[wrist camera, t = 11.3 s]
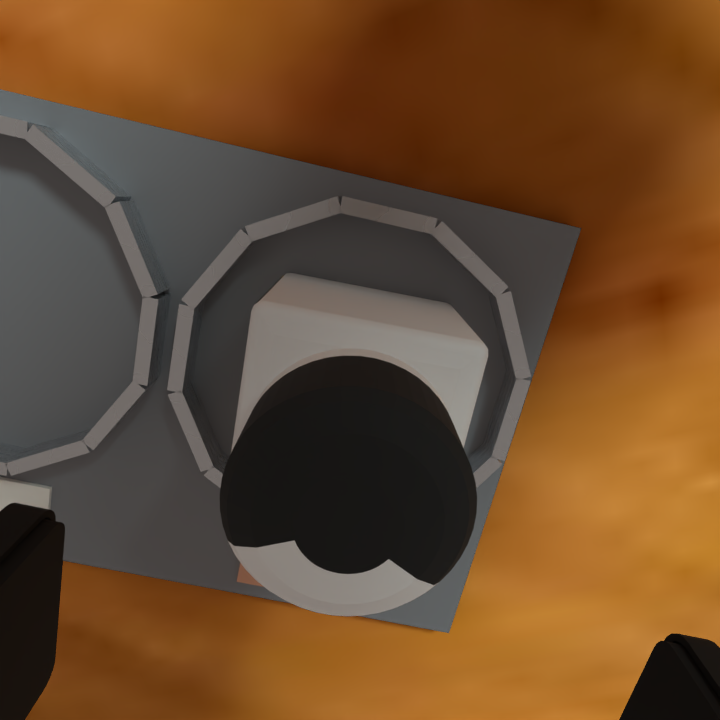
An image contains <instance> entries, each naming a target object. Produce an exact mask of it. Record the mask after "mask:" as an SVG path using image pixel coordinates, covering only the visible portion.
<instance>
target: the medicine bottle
mask: <svg viewBox="0 0 720 720" xmlns="http://www.w3.org/2000/svg"><path fill="white" fill-rule="evenodd" d="M487 358H488V348H487V347H486V345H485V344H484V342H483V341H482V340H481V339H480V338H479V337H478V336H477V334H476V333H475V332H474V331H473V330H472V329H471V328H470V326H469V325H468V324H467V323H466V322H465V321H464V320H463V318H462V317H461V316H460V315H459V314H458V313H457V311H456V310H455V309H454V308H453V307H452V306H451V305H450V304H448V303H445V302H439V301H434V300H429V299H424V298H419V297H414V296H408V295H403V294H398V293H393V292H388V291H383V290H377V289H372V288H367V287H362V286H357V285H352V284H346V283H341V282H336V281H331V280H326V279H320V278H315V277H310V276H305V275H300V274H295V273H286V274H285V275H283V276H282V277H281V278H280V279H279V280H278V281H277V282H276V283H275V284H274V285H273V286H272V287H271V288H270V289H269V290H268V291H267V292H266V293H265V294H264V295H263V296H262V297H261V298H260V299H259V300H258V301H257V302H256V303H255V304H254V306H253V308H252V310H251V317H250V324H249V331H248V338H247V345H246V352H245V359H244V366H243V373H242V380H241V387H240V394H239V401H238V408H237V415H236V422H235V429H234V436H233V443H232V450H231V454H230V456H229V458H228V460H227V463H226V466H225V469H224V472H223V476H222V480H221V487H220V513H221V519H222V525H223V528H224V531H225V534H226V537H227V540H228V542H229V544H230V546H231V548H232V550H233V552H234V554H235V556H236V557H237V558H238V560H239V561H240V563H241V564H242V565H243V567H244V568H245V569H246V570H247V571H248V572H249V573H250V575H251V576H252V577H253V578H254V579H255V580H256V581H257V582H259V583H260V584H261V585H262V586H264V587H265V588H266V589H267V590H269V591H270V592H272V593H274V594H275V595H277V596H278V597H280V598H282V599H283V600H285V601H287V602H290V603H292V604H294V605H296V606H298V607H301V608H304V609H307V610H310V611H313V612H317V613H322V614H328V615H336V616H363V615H369V614H375V613H380V612H384V611H387V610H391V609H394V608H396V607H399V606H401V605H403V604H406V603H408V602H410V601H412V600H414V599H416V598H417V597H419V596H421V595H423V594H424V593H426V592H427V591H429V590H430V589H431V588H433V587H434V586H435V585H436V584H438V583H439V582H440V581H441V580H442V579H443V578H444V577H445V576H446V575H447V574H448V573H449V572H450V571H451V570H452V568H453V567H454V566H455V564H456V563H457V562H458V560H459V559H460V558H461V556H462V554H463V552H464V550H465V548H466V547H467V545H468V542H469V540H470V537H471V534H472V532H473V529H474V524H475V519H476V514H477V491H476V482H475V478H474V475H473V471H472V467H471V464H470V462H469V460H468V457H467V455H466V453H465V450H464V445H465V441H466V437H467V433H468V430H469V426H470V422H471V418H472V415H473V411H474V407H475V403H476V400H477V396H478V392H479V388H480V385H481V381H482V377H483V373H484V370H485V366H486V362H487Z"/></svg>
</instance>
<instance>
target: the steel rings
mask: <svg viewBox="0 0 720 720" xmlns="http://www.w3.org/2000/svg"><path fill="white" fill-rule="evenodd" d="M0 133H1V134H5V135H10V136H14V137H18V138H23V139H25V140H26V141H28V142H29V143H30V144H31V145H32V146H33V147H35V148H36V149H37V150H38V151H39V152H40V153H42V154H43V155H44V156H45V157H46V158H47V159H49V160H50V161H51V162H52V163H53V164H54V165H56V166H57V167H58V168H59V169H60V170H61V171H63V172H64V173H65V174H66V175H67V176H68V177H70V178H71V179H72V180H73V181H74V182H75V183H77V184H78V185H79V186H80V187H81V188H82V189H84V190H85V191H86V192H87V193H88V194H89V195H91V196H92V197H93V198H94V199H95V200H96V201H98V202H99V203H100V204H101V205H102V206H103V207H105V209H106V212H107V214H108V216H109V219H110V221H111V223H112V226H113V228H114V231H115V233H116V235H117V238H118V240H119V242H120V245H121V247H122V250H123V252H124V254H125V257H126V259H127V261H128V264H129V266H130V269H131V271H132V273H133V276H134V278H135V280H136V283H137V285H138V288H139V290H140V292H141V295H142V297H143V299H142V307H141V315H140V323H139V332H138V340H137V348H136V356H135V365H134V373H133V381H132V383H131V384H130V385H129V386H128V387H127V388H126V390H125V391H124V392H123V393H122V394H121V395H120V397H119V398H118V399H117V400H116V401H115V402H114V404H113V405H112V406H111V407H110V408H109V409H108V411H107V412H106V413H105V414H104V415H103V416H102V418H101V419H100V420H99V421H98V422H97V423H96V425H95V426H94V427H93V428H90V429H87V430H84V431H80V432H77V433H74V434H70V435H67V436H64V437H60V438H57V439H54V440H50V441H47V442H44V443H40V444H37V445H34V446H30V447H27V448H25V447H20V446H15V445H10V444H5V443H0V475H4V476H7V475H8V474H11V476H12V475H15V474H19V473H22V472H26V471H29V470H32V469H36V468H39V467H42V466H46V465H49V464H53V463H56V462H59V461H63V460H66V459H69V458H73V457H76V456H80V455H83V454H86V453H90V452H91V451H92V450H94V449H95V448H96V447H97V446H98V445H99V444H100V443H101V442H102V441H103V440H105V439H106V438H107V437H108V436H109V435H110V433H111V432H112V431H113V430H114V429H115V428H116V427H117V425H118V424H119V423H120V422H121V421H122V420H123V419H124V417H125V416H126V415H127V414H128V413H129V412H130V410H131V409H132V408H133V407H134V406H135V405H136V404H137V402H138V401H139V400H140V399H141V398H142V397H143V395H144V394H145V393H146V392H147V391H148V390H149V389H150V387H151V386H152V385H153V384H154V383H155V382H156V380H157V379H158V378H157V377H158V376H159V375H160V370H161V363H162V356H163V348H164V341H165V333H166V326H167V319H168V311H169V304H170V296H171V293H168V292H164V291H166V290H168V289H170V286H169V284H168V281H167V279H166V276H165V274H164V272H163V269H162V267H161V264H160V262H159V259H158V257H157V254H156V252H155V249H154V247H153V244H152V242H151V239H150V237H149V235H148V232H147V230H146V227H145V225H144V222H143V220H142V217H141V215H140V212H139V210H138V207H137V205H136V202H135V201H129V200H130V198H131V197H132V196H130V195H129V194H128V193H127V192H126V191H125V190H124V189H122V188H121V187H120V186H119V185H118V184H117V183H116V182H114V181H113V180H112V179H111V178H110V177H109V176H108V175H106V174H105V173H104V172H103V171H102V170H101V169H100V168H98V167H97V166H96V165H95V164H94V163H93V162H92V161H90V160H89V159H88V158H87V157H86V156H85V155H83V154H82V153H81V152H80V151H79V150H78V149H77V148H75V147H74V146H73V145H72V144H71V143H70V142H69V141H67V140H66V139H65V138H64V137H63V136H62V135H61V134H59V133H58V132H57V131H56V130H55V129H50V127H48V126H44V125H40V124H35V123H31V122H27V121H23V120H18V119H14V118H10V117H6V116H1V115H0ZM339 213H343V214H347V215H352V216H356V217H360V218H364V219H369V220H373V221H377V222H381V223H386V224H390V225H394V226H399V227H403V228H407V229H411V230H416V231H420V232H424V233H429V234H430V235H431V236H432V237H433V238H434V239H435V240H436V241H437V242H438V243H439V244H440V245H441V246H442V247H443V248H444V249H445V250H446V251H447V252H448V253H449V254H450V255H451V256H452V257H453V258H454V259H455V260H456V261H457V262H458V263H459V264H460V265H461V266H462V267H463V268H464V269H465V270H466V271H467V272H469V273H470V274H471V275H472V276H473V277H474V278H475V279H476V280H477V281H478V282H479V283H480V284H481V285H482V286H483V287H484V288H485V289H486V290H487V291H488V295H489V299H490V304H491V308H492V312H493V316H494V320H495V324H496V328H497V332H498V336H499V340H500V344H501V348H502V352H503V356H504V360H505V364H506V368H507V369H506V372H505V375H504V378H503V382H502V385H501V388H500V391H499V394H498V398H497V401H496V404H495V407H494V410H493V414H492V417H491V420H490V423H489V426H488V430H487V433H486V436H485V439H484V442H483V443H482V444H481V445H480V446H479V447H477V448H476V449H475V450H474V451H473V452H472V453H471V454H470V455H469V456H468V460H469V462H470V464H471V467H472V471H473V475H474V478H475V482H476V488H477V487H478V486H479V485H480V484H482V483H483V482H484V481H485V480H486V479H487V478H488V477H489V476H490V475H491V474H492V473H494V472H495V471H496V470H497V469H498V468H499V467H500V466H501V465H502V463H501V461H500V460H504V461H505V458H506V455H507V452H508V449H509V446H510V443H511V440H512V437H513V434H514V431H515V428H516V425H517V422H518V419H519V416H520V413H521V410H522V406H523V403H524V400H525V397H526V394H527V391H528V388H529V385H530V382H531V381H530V380H529V379H528V378H527V377H531V374H530V370H529V366H528V361H527V357H526V353H525V349H524V345H523V340H522V336H521V332H520V328H519V323H518V319H517V315H516V311H515V306H514V302H513V298H512V294H511V291H510V290H508V289H507V288H508V286H507V285H506V284H505V283H504V282H503V281H502V280H501V279H500V278H499V277H498V276H497V275H496V274H495V273H494V272H493V271H492V270H491V269H490V268H489V267H488V266H487V265H486V264H485V263H484V262H483V261H482V260H481V259H480V258H479V257H478V256H477V255H476V254H475V253H474V252H473V251H472V250H471V249H470V248H469V247H468V246H467V245H466V244H465V243H464V242H463V241H462V240H461V239H460V238H459V237H458V236H457V235H456V234H455V233H454V232H453V231H452V230H451V229H450V228H449V227H448V226H447V225H446V224H445V223H444V222H443V221H440V220H437V218H434V217H429V216H425V215H421V214H417V213H412V212H408V211H404V210H400V209H395V208H391V207H387V206H383V205H379V204H374V203H370V202H366V201H362V200H357V199H353V198H349V197H345V196H342V201H341V203H340V200H339V196H337V197H333V198H330V199H327V200H324V201H321V202H318V203H315V204H312V205H309V206H306V207H303V208H299V209H296V210H293V211H290V212H287V213H284V214H281V215H278V216H275V217H272V218H269V219H266V220H262V221H259V222H256V223H253V224H250V225H247V226H245V228H243V229H240V230H239V232H238V233H237V234H236V235H235V236H234V237H233V239H232V240H231V241H230V242H229V243H228V245H227V246H226V247H225V248H224V249H223V250H222V252H221V253H220V254H219V255H218V256H217V258H216V259H215V260H214V261H213V262H212V263H211V265H210V266H209V267H208V268H207V269H206V271H205V272H204V273H203V274H202V275H201V277H200V278H199V279H198V280H197V281H196V282H195V284H194V285H193V286H192V287H191V288H190V290H189V291H188V292H187V293H186V294H185V295H184V297H183V298H182V299H181V300H182V301H183V302H182V303H180V304H179V308H178V315H177V323H176V330H175V337H174V344H173V351H172V358H171V366H170V373H169V380H168V387H167V390H169V391H171V392H170V393H169V394H168V396H169V399H170V401H171V403H172V406H173V408H174V410H175V413H176V415H177V417H178V420H179V422H180V424H181V427H182V429H183V431H184V434H185V436H186V438H187V441H188V443H189V445H190V448H191V450H192V452H193V455H194V457H195V459H196V462H197V464H198V466H199V469H200V471H201V472H202V471H205V470H206V472H205V474H204V476H205V477H206V478H208V479H209V480H210V481H211V482H213V483H214V484H215V485H217V486H218V487H219V488H220V487H221V480H222V476H223V472H224V469H225V466H226V463H227V460H228V458H229V456H227V455H226V454H225V453H224V452H222V450H221V448H220V445H219V443H218V440H217V438H216V436H215V433H214V431H213V428H212V426H211V424H210V421H209V419H208V416H207V414H206V411H205V409H204V407H203V404H202V402H201V399H200V397H199V394H198V392H197V390H196V387H195V385H194V382H193V375H194V368H195V362H196V355H197V348H198V342H199V335H200V329H201V322H202V315H203V309H204V302H205V301H206V300H207V299H208V297H209V296H210V295H211V294H212V293H213V292H214V290H215V289H216V288H217V287H218V286H219V285H220V283H221V282H222V281H223V280H224V279H225V278H226V276H227V275H228V274H229V273H230V272H231V271H232V269H233V268H234V267H235V266H236V265H237V264H238V262H239V261H240V260H241V259H242V258H243V257H244V255H245V254H246V253H247V252H248V251H249V250H250V248H251V247H252V246H253V245H254V244H255V243H256V241H257V240H258V239H261V238H264V237H267V236H270V235H274V234H277V233H280V232H283V231H286V230H289V229H292V228H295V227H298V226H302V225H305V224H308V223H311V222H314V221H317V220H320V219H323V218H326V217H330V216H333V215H336V214H339Z"/></svg>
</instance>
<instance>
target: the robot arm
mask: <svg viewBox="0 0 720 720" xmlns="http://www.w3.org/2000/svg"><path fill="white" fill-rule="evenodd" d="M64 540H65V525H64V523H62V522H57V521H56V516H55V513H54V511H52V510H50V509H45V508H40V507H34V506H29V505H24V504H19V503H10V504H9V505H7V506H6V507H4V508H3V509H2V510H1V511H0V720H25V718H26V717H27V715H28V714H29V712H30V711H31V709H32V707H33V706H34V704H35V703H36V701H37V700H38V698H39V696H40V695H41V693H42V692H43V690H44V688H45V687H46V685H47V683H48V681H49V678H50V676H51V673H52V671H53V667H54V663H55V654H56V642H57V629H58V616H59V603H60V591H61V578H62V565H63V552H64ZM619 720H720V648H719V647H718V646H717V645H716V644H715V643H714V642H712V641H710V640H707V639H702V638H697V637H692V636H687V635H681V634H670V635H669V636H667V637H666V639H665V640H664V641H660V642H658V643H657V644H656V646H655V647H654V649H653V651H652V653H651V655H650V657H649V659H648V661H647V663H646V665H645V668H644V670H643V672H642V674H641V676H640V678H639V680H638V682H637V684H636V686H635V688H634V690H633V692H632V694H631V696H630V699H629V701H628V703H627V705H626V707H625V709H624V711H623V713H622V715H621V717H620V719H619Z"/></svg>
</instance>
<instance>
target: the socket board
mask: <svg viewBox="0 0 720 720" xmlns="http://www.w3.org/2000/svg"><path fill="white" fill-rule="evenodd" d="M0 115H1V116H6V117H10V118H14V119H18V120H23V121H27V122H31V123H35V124H40V125H44V126H48V127H50V129H55V130H56V131H57V132H58V133H59V134H61V135H62V136H63V137H64V138H65V139H66V140H67V141H69V142H70V143H71V144H72V145H73V146H74V147H75V148H77V149H78V150H79V151H80V152H81V153H82V154H83V155H85V156H86V157H87V158H88V159H89V160H90V161H92V162H93V163H94V164H95V165H96V166H97V167H98V168H100V169H101V170H102V171H103V172H104V173H105V174H106V175H108V176H109V177H110V178H111V179H112V180H113V181H114V182H116V183H117V184H118V185H119V186H120V187H121V188H122V189H124V190H125V191H126V192H127V193H128V194H129V195H130V196H132V197H131V198H130V200H129V201H135V202H136V205H137V207H138V210H139V212H140V215H141V217H142V220H143V222H144V225H145V227H146V230H147V232H148V235H149V237H150V239H151V242H152V244H153V247H154V249H155V252H156V254H157V257H158V259H159V262H160V264H161V267H162V269H163V272H164V274H165V276H166V279H167V281H168V284H169V286H170V289H168V290H166V291H164V292H168V293H171V296H170V304H169V311H168V319H167V326H166V333H165V341H164V348H163V356H162V363H161V370H160V375H159V376H158V377H157V378H158V379H157V380H156V382H155V383H154V384H153V385H152V386H151V387H150V389H149V390H148V391H147V392H146V393H145V394H144V395H143V397H142V398H141V399H140V400H139V401H138V402H137V404H136V405H135V406H134V407H133V408H132V409H131V410H130V412H129V413H128V414H127V415H126V416H125V417H124V419H123V420H122V421H121V422H120V423H119V424H118V425H117V427H116V428H115V429H114V430H113V431H112V432H111V433H110V435H109V436H108V437H107V438H106V439H105V440H103V441H102V442H101V443H100V444H99V445H98V446H97V447H96V448H95V449H94V450H92V451H91V452H90V453H86V454H83V455H80V456H76V457H73V458H69V459H66V460H63V461H59V462H56V463H53V464H49V465H46V466H42V467H39V468H36V469H32V470H29V471H26V472H22V473H19V474H15V475H12V476H11V474H8V475H7V476H4V475H0V511H1V510H2V509H3V508H4V507H6V506H7V505H9V504H10V503H19V504H24V505H29V506H34V507H40V508H45V509H50V510H52V511H54V513H55V516H56V521H57V522H62V523H64V525H65V540H64V552H63V561H68V562H73V563H79V564H84V565H89V566H95V567H100V568H105V569H111V570H116V571H121V572H127V573H132V574H137V575H143V576H148V577H153V578H159V579H164V580H169V581H175V582H180V583H185V584H191V585H196V586H201V587H207V588H212V589H217V590H223V591H228V592H233V593H239V594H244V595H249V596H255V597H260V598H265V599H271V600H276V601H281V602H287V601H285V600H283V599H282V598H280V597H278V596H277V595H275V594H274V593H272V592H270V591H269V590H267V589H266V588H265V587H264V586H262V585H261V584H260V583H259V582H257V581H256V580H255V579H254V578H253V577H252V576H251V575H250V573H249V572H248V571H247V570H246V569H245V568H244V567H243V565H242V564H241V563H240V561H239V560H238V558H237V557H236V556H235V554H234V552H233V550H232V548H231V546H230V544H229V542H228V540H227V537H226V534H225V531H224V528H223V525H222V519H221V513H220V488H219V487H218V486H217V485H215V484H214V483H213V482H211V481H210V480H209V479H208V478H206V477H205V476H204V474H205V472H206V470H205V471H202V472H201V471H200V469H199V466H198V464H197V462H196V459H195V457H194V455H193V452H192V450H191V448H190V445H189V443H188V441H187V438H186V436H185V434H184V431H183V429H182V427H181V424H180V422H179V420H178V417H177V415H176V413H175V410H174V408H173V406H172V403H171V401H170V399H169V396H168V394H169V393H170V392H171V391H169V390H167V387H168V380H169V373H170V366H171V358H172V351H173V344H174V337H175V330H176V323H177V315H178V308H179V304H180V303H182V302H183V301H182V300H181V299H182V298H183V297H184V295H185V294H186V293H187V292H188V291H189V290H190V288H191V287H192V286H193V285H194V284H195V282H196V281H197V280H198V279H199V278H200V277H201V275H202V274H203V273H204V272H205V271H206V269H207V268H208V267H209V266H210V265H211V263H212V262H213V261H214V260H215V259H216V258H217V256H218V255H219V254H220V253H221V252H222V250H223V249H224V248H225V247H226V246H227V245H228V243H229V242H230V241H231V240H232V239H233V237H234V236H235V235H236V234H237V233H238V232H239V230H240V229H243V228H245V226H247V225H250V224H253V223H256V222H259V221H262V220H266V219H269V218H272V217H275V216H278V215H281V214H284V213H287V212H290V211H293V210H296V209H299V208H303V207H306V206H309V205H312V204H315V203H318V202H321V201H324V200H327V199H330V198H333V197H337V196H339V200H340V203H341V201H342V196H345V197H349V198H353V199H357V200H362V201H366V202H370V203H374V204H379V205H383V206H387V207H391V208H395V209H400V210H404V211H408V212H412V213H417V214H421V215H425V216H429V217H434V218H437V220H440V221H443V222H444V223H445V224H446V225H447V226H448V227H449V228H450V229H451V230H452V231H453V232H454V233H455V234H456V235H457V236H458V237H459V238H460V239H461V240H462V241H463V242H464V243H465V244H466V245H467V246H468V247H469V248H470V249H471V250H472V251H473V252H474V253H475V254H476V255H477V256H478V257H479V258H480V259H481V260H482V261H483V262H484V263H485V264H486V265H487V266H488V267H489V268H490V269H491V270H492V271H493V272H494V273H495V274H496V275H497V276H498V277H499V278H500V279H501V280H502V281H503V282H504V283H505V284H506V285H507V286H508V288H507V289H508V290H510V291H511V294H512V298H513V302H514V306H515V311H516V315H517V319H518V323H519V328H520V332H521V336H522V340H523V345H524V349H525V353H526V357H527V361H528V366H529V370H530V374H531V377H527V378H528V379H529V380H530V381H531V380H532V377H533V374H534V371H535V368H536V365H537V362H538V359H539V356H540V353H541V350H542V347H543V344H544V341H545V337H546V334H547V331H548V328H549V325H550V322H551V319H552V316H553V313H554V310H555V307H556V304H557V301H558V298H559V295H560V292H561V289H562V286H563V282H564V279H565V276H566V273H567V270H568V267H569V264H570V261H571V258H572V255H573V252H574V249H575V246H576V243H577V240H578V237H579V234H580V230H581V228H578V227H574V226H570V225H565V224H561V223H557V222H553V221H549V220H545V219H540V218H536V217H532V216H528V215H524V214H519V213H515V212H511V211H507V210H503V209H498V208H494V207H490V206H486V205H482V204H478V203H473V202H469V201H465V200H461V199H457V198H452V197H448V196H444V195H440V194H436V193H431V192H427V191H423V190H419V189H415V188H411V187H406V186H402V185H398V184H394V183H390V182H385V181H381V180H377V179H373V178H369V177H365V176H360V175H356V174H352V173H348V172H344V171H339V170H335V169H331V168H327V167H323V166H318V165H314V164H310V163H306V162H302V161H298V160H293V159H289V158H285V157H281V156H277V155H272V154H268V153H264V152H260V151H256V150H251V149H247V148H243V147H239V146H235V145H231V144H226V143H222V142H218V141H214V140H210V139H205V138H201V137H197V136H193V135H189V134H185V133H180V132H176V131H172V130H168V129H164V128H159V127H155V126H151V125H147V124H143V123H138V122H134V121H130V120H126V119H122V118H118V117H113V116H109V115H105V114H101V113H97V112H92V111H88V110H84V109H80V108H76V107H71V106H67V105H63V104H59V103H55V102H51V101H46V100H42V99H38V98H34V97H30V96H25V95H21V94H17V93H13V92H9V91H5V90H0ZM286 273H295V274H300V275H305V276H310V277H315V278H320V279H326V280H331V281H336V282H341V283H346V284H352V285H357V286H362V287H367V288H372V289H377V290H383V291H388V292H393V293H398V294H403V295H408V296H414V297H419V298H424V299H429V300H434V301H439V302H445V303H448V304H450V305H451V306H452V307H453V308H454V309H455V310H456V311H457V313H458V314H459V315H460V316H461V317H462V318H463V320H464V321H465V322H466V323H467V324H468V325H469V326H470V328H471V329H472V330H473V331H474V332H475V333H476V334H477V336H478V337H479V338H480V339H481V340H482V341H483V342H484V344H485V345H486V347H487V348H488V358H487V362H486V366H485V370H484V373H483V377H482V381H481V385H480V388H479V392H478V396H477V400H476V403H475V407H474V411H473V415H472V418H471V422H470V426H469V430H468V433H467V437H466V441H465V445H464V450H465V453H466V455H467V457H468V456H469V455H470V454H471V453H472V452H473V451H474V450H475V449H476V448H477V447H479V446H480V445H481V444H482V443H483V442H484V439H485V436H486V433H487V430H488V426H489V423H490V420H491V417H492V414H493V410H494V407H495V404H496V401H497V398H498V394H499V391H500V388H501V385H502V382H503V378H504V375H505V372H506V369H507V368H506V364H505V360H504V356H503V352H502V348H501V344H500V340H499V336H498V332H497V328H496V324H495V320H494V316H493V312H492V308H491V304H490V299H489V295H488V291H487V290H486V289H485V288H484V287H483V286H482V285H481V284H480V283H479V282H478V281H477V280H476V279H475V278H474V277H473V276H472V275H471V274H470V273H469V272H467V271H466V270H465V269H464V268H463V267H462V266H461V265H460V264H459V263H458V262H457V261H456V260H455V259H454V258H453V257H452V256H451V255H450V254H449V253H448V252H447V251H446V250H445V249H444V248H443V247H442V246H441V245H440V244H439V243H438V242H437V241H436V240H435V239H434V238H433V237H432V236H431V235H430V234H429V233H424V232H420V231H416V230H411V229H407V228H403V227H399V226H394V225H390V224H386V223H381V222H377V221H373V220H369V219H364V218H360V217H356V216H352V215H347V214H343V213H339V214H336V215H333V216H330V217H326V218H323V219H320V220H317V221H314V222H311V223H308V224H305V225H302V226H298V227H295V228H292V229H289V230H286V231H283V232H280V233H277V234H274V235H270V236H267V237H264V238H261V239H258V240H257V241H256V243H255V244H254V245H253V246H252V247H251V248H250V250H249V251H248V252H247V253H246V254H245V255H244V257H243V258H242V259H241V260H240V261H239V262H238V264H237V265H236V266H235V267H234V268H233V269H232V271H231V272H230V273H229V274H228V275H227V276H226V278H225V279H224V280H223V281H222V282H221V283H220V285H219V286H218V287H217V288H216V289H215V290H214V292H213V293H212V294H211V295H210V296H209V297H208V299H207V300H206V301H205V302H204V309H203V315H202V322H201V329H200V335H199V342H198V348H197V355H196V362H195V368H194V375H193V382H194V385H195V387H196V390H197V392H198V394H199V397H200V399H201V402H202V404H203V407H204V409H205V411H206V414H207V416H208V419H209V421H210V424H211V426H212V428H213V431H214V433H215V436H216V438H217V440H218V443H219V445H220V448H221V450H222V452H224V453H225V454H226V455H227V456H230V454H231V450H232V443H233V436H234V429H235V422H236V415H237V408H238V401H239V394H240V387H241V380H242V373H243V366H244V359H245V352H246V345H247V338H248V331H249V324H250V317H251V310H252V308H253V306H254V304H255V303H256V302H257V301H258V300H259V299H260V298H261V297H262V296H263V295H264V294H265V293H266V292H267V291H268V290H269V289H270V288H271V287H272V286H273V285H274V284H275V283H276V282H277V281H278V280H279V279H280V278H281V277H282V276H283V275H285V274H286ZM142 299H143V297H142V295H141V292H140V290H139V288H138V285H137V283H136V280H135V278H134V276H133V273H132V271H131V269H130V266H129V264H128V261H127V259H126V257H125V254H124V252H123V250H122V247H121V245H120V242H119V240H118V238H117V235H116V233H115V231H114V228H113V226H112V223H111V221H110V219H109V216H108V214H107V212H106V209H105V207H103V206H102V205H101V204H100V203H99V202H98V201H96V200H95V199H94V198H93V197H92V196H91V195H89V194H88V193H87V192H86V191H85V190H84V189H82V188H81V187H80V186H79V185H78V184H77V183H75V182H74V181H73V180H72V179H71V178H70V177H68V176H67V175H66V174H65V173H64V172H63V171H61V170H60V169H59V168H58V167H57V166H56V165H54V164H53V163H52V162H51V161H50V160H49V159H47V158H46V157H45V156H44V155H43V154H42V153H40V152H39V151H38V150H37V149H36V148H35V147H33V146H32V145H31V144H30V143H29V142H28V141H26V140H25V139H23V138H18V137H14V136H10V135H5V134H1V133H0V443H5V444H10V445H15V446H20V447H25V448H27V447H30V446H34V445H37V444H40V443H44V442H47V441H50V440H54V439H57V438H60V437H64V436H67V435H70V434H74V433H77V432H80V431H84V430H87V429H90V428H93V427H94V426H95V425H96V423H97V422H98V421H99V420H100V419H101V418H102V416H103V415H104V414H105V413H106V412H107V411H108V409H109V408H110V407H111V406H112V405H113V404H114V402H115V401H116V400H117V399H118V398H119V397H120V395H121V394H122V393H123V392H124V391H125V390H126V388H127V387H128V386H129V385H130V384H131V383H132V381H133V373H134V365H135V356H136V348H137V340H138V332H139V323H140V315H141V307H142ZM530 383H531V382H530ZM529 386H530V385H529ZM528 389H529V388H528ZM527 392H528V391H527ZM526 396H527V394H526ZM525 399H526V397H525ZM524 402H525V400H524ZM523 405H524V403H523ZM522 408H523V406H522ZM521 411H522V410H521ZM520 414H521V413H520ZM519 417H520V416H519ZM518 420H519V419H518ZM517 423H518V422H517ZM516 426H517V425H516ZM515 429H516V428H515ZM514 432H515V431H514ZM513 435H514V434H513ZM512 438H513V437H512ZM511 441H512V440H511ZM510 444H511V443H510ZM509 447H510V446H509ZM508 451H509V449H508ZM507 454H508V452H507ZM506 457H507V455H506ZM505 460H506V458H505ZM500 461H501V463H502V465H501V466H500V467H499V468H498V469H497V470H496V471H495V472H494V473H492V474H491V475H490V476H489V477H488V478H487V479H486V480H485V481H484V482H483V483H482V484H480V485H479V486H478V487H477V488H476V491H477V514H476V519H475V524H474V529H473V532H472V534H471V537H470V540H469V542H468V545H467V547H466V548H465V550H464V552H463V554H462V556H461V558H460V559H459V560H458V562H457V563H456V564H455V566H454V567H453V568H452V570H451V571H450V572H449V573H448V574H447V575H446V576H445V577H444V578H443V579H442V580H441V581H440V582H439V583H438V584H436V585H435V586H434V587H433V588H431V589H430V590H429V591H427V592H426V593H424V594H423V595H421V596H419V597H417V598H416V599H414V600H412V601H410V602H408V603H406V604H403V605H401V606H399V607H396V608H394V609H391V610H387V611H384V612H380V613H375V614H369V615H363V616H361V617H367V618H372V619H377V620H383V621H388V622H393V623H399V624H404V625H409V626H415V627H420V628H425V629H431V630H436V631H441V632H447V633H449V631H450V628H451V625H452V622H453V619H454V616H455V613H456V609H457V606H458V603H459V600H460V597H461V594H462V591H463V588H464V585H465V582H466V579H467V576H468V573H469V570H470V567H471V564H472V561H473V558H474V554H475V551H476V548H477V545H478V542H479V539H480V536H481V533H482V530H483V527H484V524H485V521H486V518H487V515H488V512H489V509H490V506H491V503H492V499H493V496H494V493H495V490H496V487H497V484H498V481H499V478H500V475H501V472H502V469H503V466H504V463H505V461H504V460H500ZM287 603H290V602H287Z"/></svg>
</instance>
